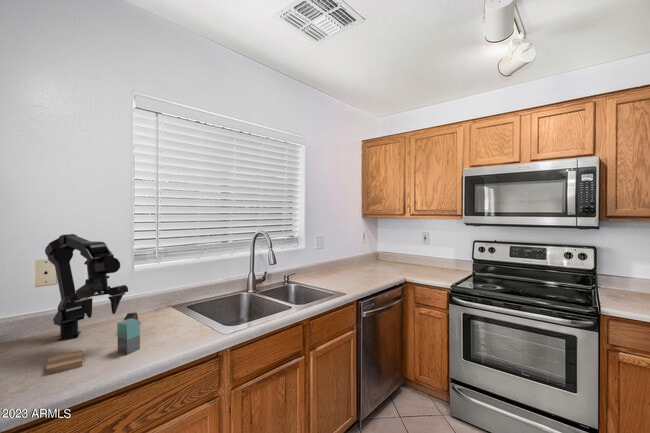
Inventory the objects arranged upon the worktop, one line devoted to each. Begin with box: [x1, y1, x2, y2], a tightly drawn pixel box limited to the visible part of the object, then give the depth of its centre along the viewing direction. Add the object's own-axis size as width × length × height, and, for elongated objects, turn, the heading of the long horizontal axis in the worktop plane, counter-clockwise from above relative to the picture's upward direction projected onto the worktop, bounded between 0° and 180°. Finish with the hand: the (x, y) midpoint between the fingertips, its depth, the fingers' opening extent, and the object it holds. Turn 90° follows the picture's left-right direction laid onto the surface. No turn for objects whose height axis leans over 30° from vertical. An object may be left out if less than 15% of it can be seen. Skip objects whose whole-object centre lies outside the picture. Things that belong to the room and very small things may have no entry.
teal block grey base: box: [116, 318, 141, 355], centre depth 114 cm, size 5×5×11 cm
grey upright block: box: [123, 311, 139, 321], centre depth 134 cm, size 4×10×8 cm, turn 16°
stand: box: [45, 350, 84, 376], centre depth 103 cm, size 9×9×2 cm
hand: (101, 315), depth 116 cm, fingers open, 9 cm apart
